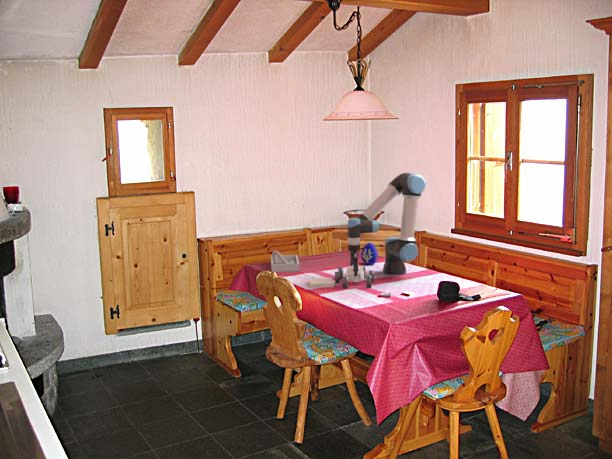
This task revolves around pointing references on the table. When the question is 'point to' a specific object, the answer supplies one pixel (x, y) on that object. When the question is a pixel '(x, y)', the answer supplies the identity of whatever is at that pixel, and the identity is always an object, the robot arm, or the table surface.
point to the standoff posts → (345, 278)
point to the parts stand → (321, 282)
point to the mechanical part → (350, 273)
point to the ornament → (369, 254)
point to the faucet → (280, 258)
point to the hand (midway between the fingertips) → (354, 279)
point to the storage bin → (285, 266)
